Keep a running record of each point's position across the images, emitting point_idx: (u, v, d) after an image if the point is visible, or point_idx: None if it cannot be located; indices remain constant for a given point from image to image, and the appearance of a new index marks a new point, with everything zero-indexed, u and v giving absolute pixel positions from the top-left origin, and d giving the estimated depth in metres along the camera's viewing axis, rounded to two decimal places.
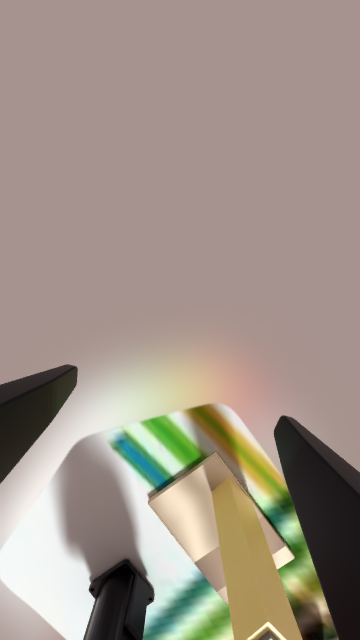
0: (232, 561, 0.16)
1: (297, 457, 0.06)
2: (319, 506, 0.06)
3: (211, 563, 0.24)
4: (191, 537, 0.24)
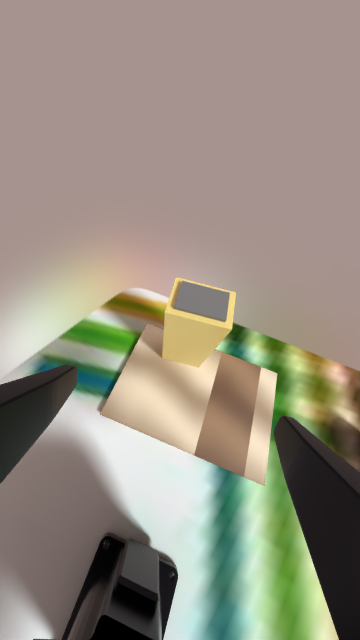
0: None
1: (297, 457, 0.06)
2: (318, 505, 0.06)
3: (213, 440, 0.18)
4: (171, 422, 0.19)
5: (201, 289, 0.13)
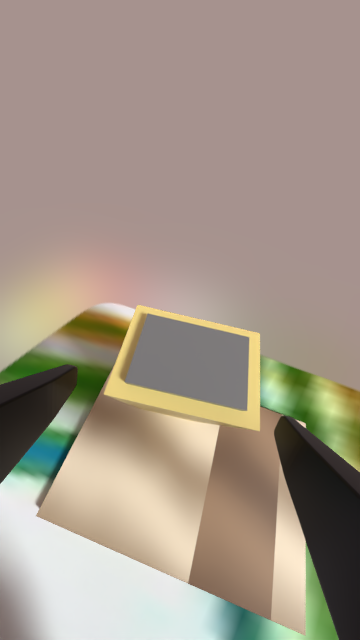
0: None
1: (297, 457, 0.06)
2: (318, 505, 0.06)
3: (218, 550, 0.12)
4: (152, 521, 0.12)
5: (188, 332, 0.06)
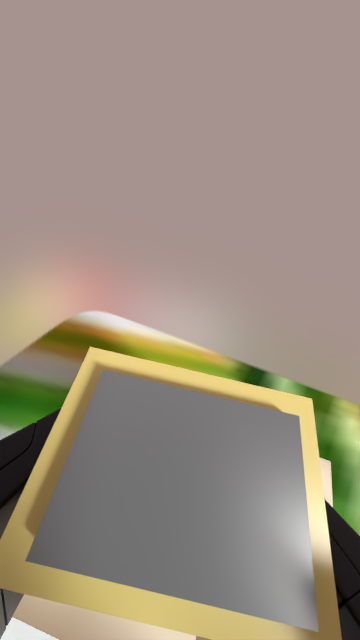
0: None
1: None
2: None
3: None
4: None
5: (181, 410, 0.03)
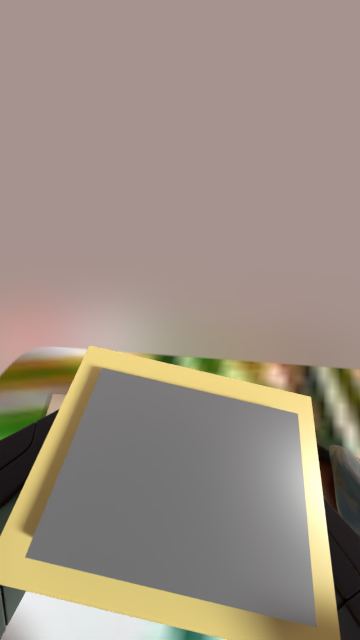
0: None
1: None
2: None
3: None
4: None
5: (180, 408, 0.03)
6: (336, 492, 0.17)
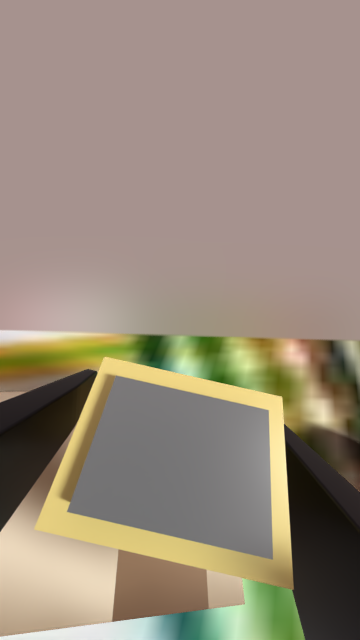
0: None
1: None
2: (290, 499, 0.06)
3: (144, 564, 0.10)
4: (58, 573, 0.10)
5: (177, 406, 0.04)
6: None
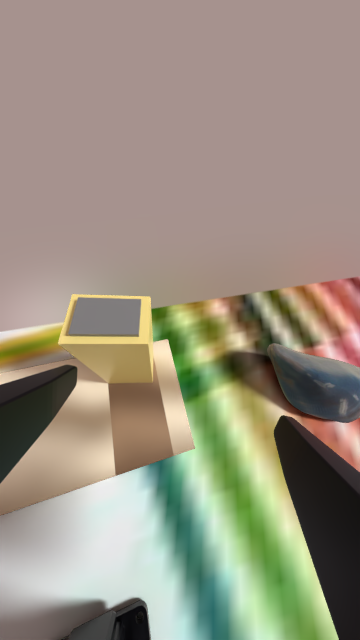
0: None
1: (297, 457, 0.06)
2: (319, 506, 0.06)
3: (130, 444, 0.16)
4: (76, 461, 0.15)
5: (104, 303, 0.10)
6: (279, 381, 0.19)
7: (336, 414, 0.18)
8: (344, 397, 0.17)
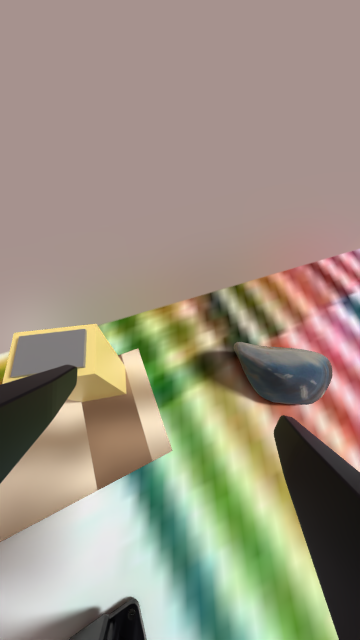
0: None
1: (297, 457, 0.06)
2: (318, 505, 0.06)
3: (109, 458, 0.17)
4: (56, 484, 0.16)
5: (47, 338, 0.10)
6: (247, 376, 0.21)
7: (299, 399, 0.20)
8: (303, 384, 0.18)
